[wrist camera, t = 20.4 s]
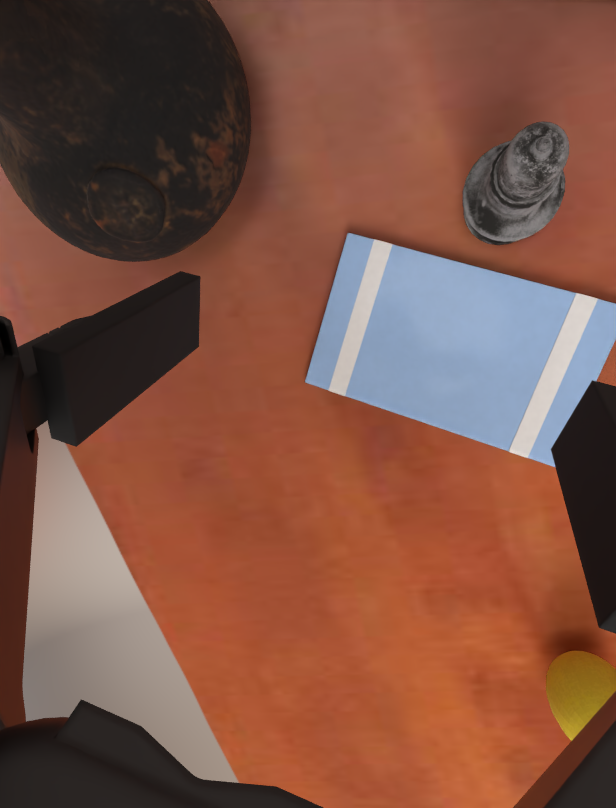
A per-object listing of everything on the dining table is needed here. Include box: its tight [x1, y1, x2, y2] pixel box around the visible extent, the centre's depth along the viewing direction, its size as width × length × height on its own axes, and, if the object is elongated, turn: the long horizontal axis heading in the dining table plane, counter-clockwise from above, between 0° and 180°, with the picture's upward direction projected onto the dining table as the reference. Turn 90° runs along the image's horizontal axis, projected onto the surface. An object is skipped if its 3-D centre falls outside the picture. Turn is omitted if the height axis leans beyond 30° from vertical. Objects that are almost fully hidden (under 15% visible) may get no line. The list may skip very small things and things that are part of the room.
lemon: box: [546, 651, 616, 741], centre depth 32 cm, size 6×6×8 cm
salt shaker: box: [463, 122, 569, 245], centre depth 25 cm, size 6×6×12 cm
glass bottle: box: [0, 0, 251, 262], centre depth 23 cm, size 18×18×28 cm
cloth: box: [305, 233, 616, 467], centre depth 33 cm, size 12×20×1 cm, turn 74°
